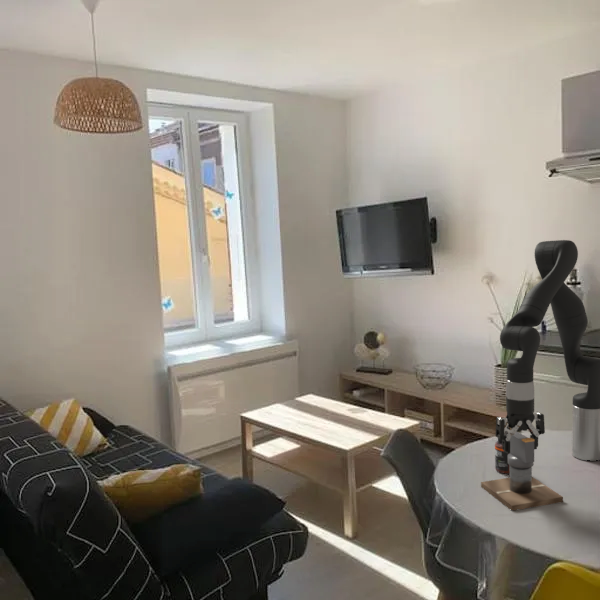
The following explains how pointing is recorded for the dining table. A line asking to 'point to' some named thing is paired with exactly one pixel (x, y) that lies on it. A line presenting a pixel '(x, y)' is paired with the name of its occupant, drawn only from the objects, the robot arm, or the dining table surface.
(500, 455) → the supplement bottle
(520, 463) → the wing cap
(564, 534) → the dining table surface
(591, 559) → the dining table surface
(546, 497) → the base
